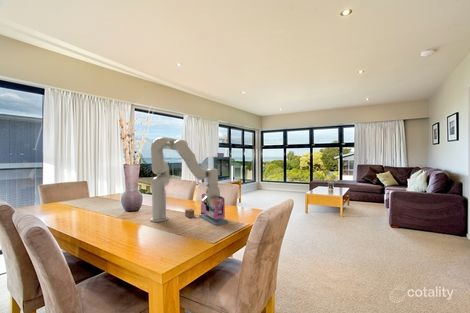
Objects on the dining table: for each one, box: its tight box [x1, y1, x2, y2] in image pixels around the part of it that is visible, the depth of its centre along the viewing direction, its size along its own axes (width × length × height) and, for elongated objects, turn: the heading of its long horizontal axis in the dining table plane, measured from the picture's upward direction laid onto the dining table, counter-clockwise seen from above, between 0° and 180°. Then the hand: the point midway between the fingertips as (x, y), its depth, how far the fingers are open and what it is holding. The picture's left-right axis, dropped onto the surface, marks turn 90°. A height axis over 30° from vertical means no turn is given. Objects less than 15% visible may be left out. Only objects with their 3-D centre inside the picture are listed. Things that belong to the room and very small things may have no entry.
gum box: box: [201, 193, 226, 219], centre depth 164 cm, size 24×8×14 cm, turn 32°
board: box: [198, 214, 229, 226], centre depth 165 cm, size 24×10×2 cm, turn 36°
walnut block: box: [184, 208, 195, 219], centre depth 174 cm, size 5×5×5 cm
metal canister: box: [200, 202, 205, 215], centre depth 182 cm, size 5×5×8 cm
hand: (212, 209), depth 165 cm, fingers closed on gum box, 8 cm apart
